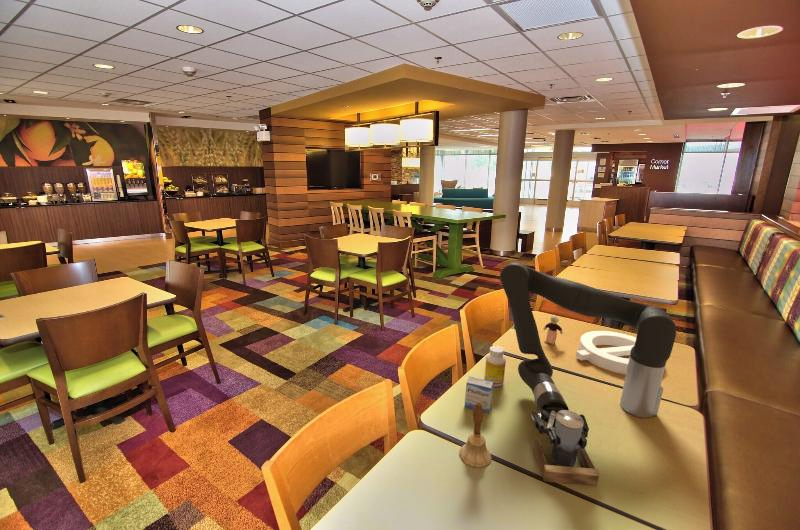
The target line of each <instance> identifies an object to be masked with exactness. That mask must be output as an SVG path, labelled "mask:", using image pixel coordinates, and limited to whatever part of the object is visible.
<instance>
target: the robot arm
mask: <svg viewBox="0 0 800 530" xmlns="http://www.w3.org/2000/svg"><path fill="white" fill-rule="evenodd" d="M499 281H500V284H501V285H502V288H503V291H504V292H505V296H506V298H507V301H508V303H509V307H510V311H511V315H512V321H513V325H514V331H515V336H516V340H517V341H516V342H517V344H518V349H519V352H520V353H522V354H524V355H534V356H537V357H536V358H532V359H531V358H530V359H526V360H522V361H520V362H519V363H518V365H517V366H518V367H517V370H518V371H517V372H518V374H519V377H520V379H521V380H522V381H523V383H525V384H526V385H527V387H529V388H530V390H531V391H532V394H533V397H534V398H533V399H534V401H535V404H536V406H537V409H538V411H539V413H538V412H537V411H535V410H532V411H531V418H530V421H531V422H532V424H533V425H534V428H535V429H536V431H537V433H538V434H540V435H543V434H545V436H547V438H548V441H549V443H550V444H551V445H552V444H553V446H557V444H558V438H557V436H556V434H555V432H554V429H555V423H556V414H557V412H558V411H561V410H569V411H570V408H569V407H568V404H567V402H566V401H565V399H564V397H563V395H562V393H561V391H560V390H559V389H558V387H557V385H556V384H555V382H554V380H553V378H552V377H553V374H554V370H553V366H552V365H551V363H550V361H549V359H548V357H547V356H546V353H545V352H544V349H543V346H542V343H541V338H540V335H539V330H538V327H537V326H538V325H537V322H536V319H535V316H534V314H533V313H534V312H533V311H532V306H531V302H530V295H529V293H531V294H535V295H538V296H540V297H542V298H543V299H545V300H547V301H550V302H551V303H553V304H554V305H555V304H556V305H557V306H558V307H561V308H563V309H565V310H568V311H570V312H573V313H575V314H579V315H581V316H585V317H589V318H598V319H609V320H615V321H618V322H620V323H622V324H625V325H628V326H630V327H633V328H634V329H636V330H637V334H636V336H635V337H636V341H635V345H634V346H633V347H632V349H631V352H630V355H629V357H628V359H629V362H628V367H627V372H626V375H625V377H624V381H623V387H622V392H621V395H620V396H621V397H620V400H619V405H620V407H621V408H622V409H623V410H624V411H625V412H627V413H628V414H630V415H633V416H634V417H637V418H644V419H645V418H647V419H649V418H652V417H653V416H658V413H659V408H660V405H661V401H662V397H663V392H664V387H663V386H662V381H663V378H664V373H665V369H666V365H667V361H668V360H669V359H670V358H671V354H672V351H673V347H674V345H675V342H676V341H675V340H676V336H677V326H676V323H675V322H674V320H673V318H672V317H671V316H670V315H669V313H668V312H667V311H666V310H664V309H663V308H661V307H658V306H654V305H649V304H646V303H641V302H636V301H634V300H629V299H624V298H622V297H620V296H617V295H614V294H612V293H610V292H609V293H608V292H607V291H603V290H600V289H597V288H595V287H592V286H591V285H590V286H589V285H587V284H583V283H580V282H577V281H573V280H570V279H566V278H561V277H557V276H554V275H550V274H546V273H543V272H540V271H538V270H536V269H534V268H531V267H529V266H527V265H525V264H523V263H521V262H519V261H518V262H515V261H513V262H510V263H507V264H506V265H505V266H503V267H502V269H501V271H500V274H499ZM579 415H580V416H581V417H582V419H583V420H584V424H583V427H582V432H581V438H580V443H579V445H580V447H581V448H582V449H585V450H586V447H587V445H588V440H587V438H588V436H589V435H588V434H589V431H590V428H589V424H588V422H587V419H586V416H585V415H584V414H583V413H582V414H579ZM543 421H544V422H543ZM545 423H546V425H547V426H546V425H545Z"/></svg>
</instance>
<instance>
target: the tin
mask: <svg viewBox="0 0 800 530" xmlns="http://www.w3.org/2000/svg"><path fill="white" fill-rule="evenodd" d="M583 424H584V420H583V419H582V417H581V416H580V414H578V413H577V412H574V411H572V410H570V409H569V410H561V411H558V412H557V414H556V423H555V428H553V429H554V432H555V434H556V436H557V438H558V444H557V446H553V444H551V449H550V455H549V456H550V459H551V460H552V462H553V463H554V464H556V466H566V467H575V465H576V464H577V459H578V456H577V454H578V448H579V443H580V438H581V432H582V427H583Z"/></svg>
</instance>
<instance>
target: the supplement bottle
mask: <svg viewBox="0 0 800 530" xmlns="http://www.w3.org/2000/svg"><path fill="white" fill-rule="evenodd" d="M504 353H505V350H504V348H503V347H502V346H499V345H492V346H490V347H489V353H487V354H486V355H485V356H486V357H485V366H484V367H485V368H484V376H483V377H484V378H483V380H487V381H492V382H494V385H493V387H494V388H495V387H501V386H503V385H504V381H505V372H506V362H507V361H506V360H507V359H506V356H505V355H504Z"/></svg>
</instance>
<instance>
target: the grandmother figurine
mask: <svg viewBox="0 0 800 530" xmlns="http://www.w3.org/2000/svg"><path fill="white" fill-rule="evenodd" d="M559 321H560V320H559V318H558V316H557V315H552V316H550V322H548V323H547V324H546V325H545V326H544V327H543V331H546V330H547V329H548V330H547V333H546V340H544V341H543V343H545V344H550V345H551V346H556V341H557V335H558V331H559V333H560V334H561V335H562V334H563V328H562V327H561V326H560V325H559V324H558V323H559Z"/></svg>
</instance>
